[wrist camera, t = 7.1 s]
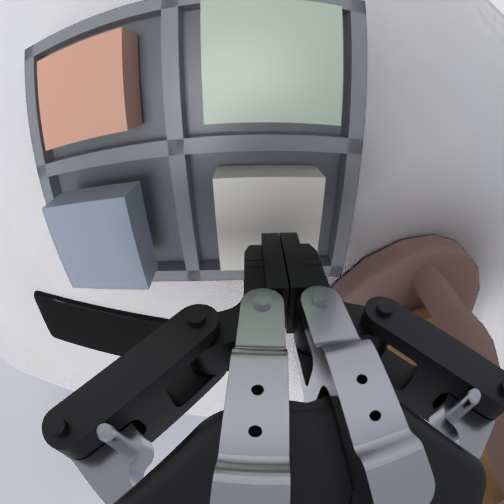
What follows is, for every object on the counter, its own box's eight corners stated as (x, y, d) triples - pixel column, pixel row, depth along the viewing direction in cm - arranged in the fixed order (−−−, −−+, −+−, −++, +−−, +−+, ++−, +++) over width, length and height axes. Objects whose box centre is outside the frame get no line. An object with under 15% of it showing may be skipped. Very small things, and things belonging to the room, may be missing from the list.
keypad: (349, 10, 9) (365, 1, 7) (332, 255, 18) (340, 275, 16) (46, 49, 9) (24, 50, 7) (87, 262, 18) (74, 280, 16)
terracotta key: (137, 33, 9) (121, 27, 7) (142, 124, 12) (127, 130, 10) (58, 61, 9) (37, 61, 7) (65, 141, 12) (45, 150, 10)
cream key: (315, 165, 13) (325, 177, 12) (307, 247, 16) (314, 267, 14) (216, 166, 13) (212, 178, 12) (222, 249, 16) (220, 270, 14)
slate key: (139, 181, 12) (124, 197, 10) (158, 265, 15) (148, 289, 13) (61, 192, 12) (41, 208, 10) (86, 266, 15) (73, 287, 13)
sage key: (326, 17, 8) (341, 6, 6) (325, 119, 11) (341, 125, 9) (207, 14, 8) (200, 0, 6) (210, 118, 10) (203, 124, 9)
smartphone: (31, 292, 19) (173, 323, 21) (35, 286, 20) (175, 316, 22) (51, 337, 23) (175, 367, 25) (54, 331, 24) (176, 360, 25)
